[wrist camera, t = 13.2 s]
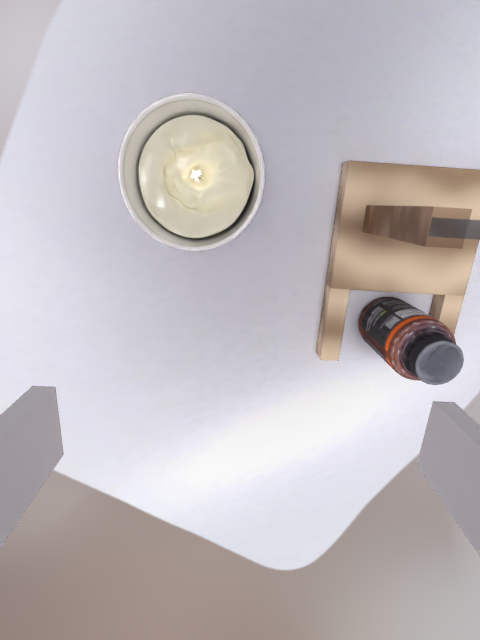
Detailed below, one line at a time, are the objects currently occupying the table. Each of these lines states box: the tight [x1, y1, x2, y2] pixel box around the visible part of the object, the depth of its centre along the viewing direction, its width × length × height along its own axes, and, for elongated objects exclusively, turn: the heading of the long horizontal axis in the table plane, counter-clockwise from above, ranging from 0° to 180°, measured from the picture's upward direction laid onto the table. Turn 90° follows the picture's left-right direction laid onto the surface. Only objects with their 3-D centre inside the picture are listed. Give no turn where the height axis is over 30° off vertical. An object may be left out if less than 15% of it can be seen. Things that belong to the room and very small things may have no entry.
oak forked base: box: [316, 161, 480, 361], centre depth 37 cm, size 20×14×2 cm
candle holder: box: [117, 93, 265, 251], centre depth 29 cm, size 10×10×12 cm
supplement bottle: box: [359, 297, 464, 385], centre depth 34 cm, size 6×6×11 cm
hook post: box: [362, 205, 480, 249], centre depth 29 cm, size 2×6×12 cm, turn 86°
